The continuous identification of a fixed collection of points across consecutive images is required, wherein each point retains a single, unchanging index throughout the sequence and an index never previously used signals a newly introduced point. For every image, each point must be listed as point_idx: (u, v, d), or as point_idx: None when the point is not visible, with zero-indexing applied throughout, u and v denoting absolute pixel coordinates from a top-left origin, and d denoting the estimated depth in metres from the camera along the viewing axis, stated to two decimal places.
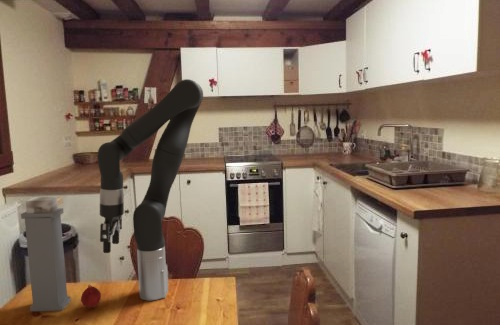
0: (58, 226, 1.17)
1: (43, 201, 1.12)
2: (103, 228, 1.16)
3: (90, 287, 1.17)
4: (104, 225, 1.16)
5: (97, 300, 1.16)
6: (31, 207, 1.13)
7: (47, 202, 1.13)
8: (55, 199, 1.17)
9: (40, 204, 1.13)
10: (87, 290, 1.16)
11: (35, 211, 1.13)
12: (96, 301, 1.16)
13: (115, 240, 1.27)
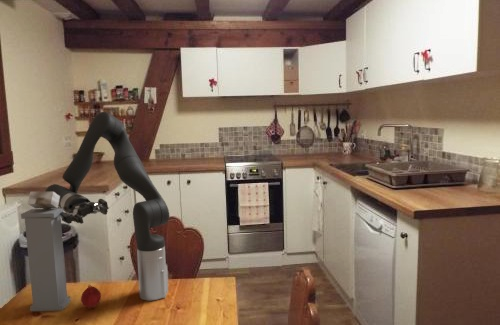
0: (58, 226, 1.17)
1: (47, 192, 1.15)
2: (62, 218, 1.16)
3: (90, 287, 1.17)
4: (61, 216, 1.17)
5: (97, 300, 1.16)
6: (34, 198, 1.14)
7: (51, 193, 1.15)
8: (58, 197, 1.19)
9: (44, 194, 1.14)
10: (87, 290, 1.16)
11: (37, 202, 1.13)
12: (96, 301, 1.16)
13: (102, 211, 1.17)
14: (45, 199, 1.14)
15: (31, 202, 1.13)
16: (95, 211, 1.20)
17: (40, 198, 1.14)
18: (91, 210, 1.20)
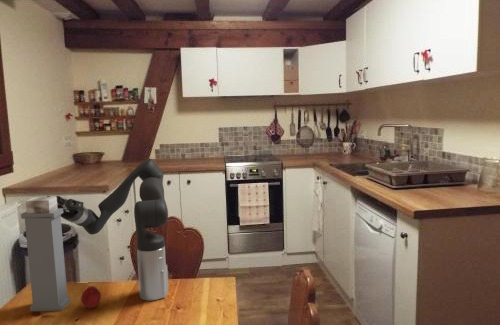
0: (58, 226, 1.17)
1: (43, 201, 1.12)
2: None
3: (90, 287, 1.17)
4: None
5: (97, 300, 1.16)
6: (31, 207, 1.13)
7: (47, 202, 1.13)
8: (55, 199, 1.17)
9: (40, 204, 1.13)
10: (87, 290, 1.16)
11: (35, 211, 1.13)
12: (96, 301, 1.16)
13: None
14: (43, 208, 1.13)
15: (30, 211, 1.13)
16: None
17: (37, 207, 1.13)
18: None
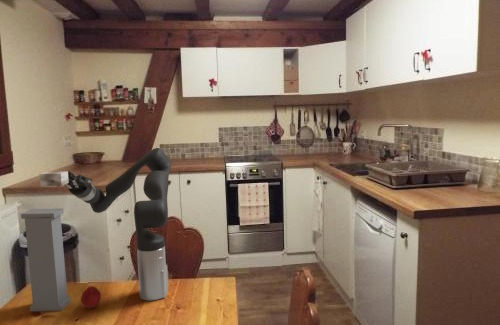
0: (58, 226, 1.17)
1: (55, 174, 1.20)
2: None
3: (90, 287, 1.17)
4: None
5: (97, 300, 1.16)
6: (44, 180, 1.21)
7: (59, 175, 1.21)
8: (66, 173, 1.25)
9: (53, 177, 1.21)
10: (87, 290, 1.16)
11: (48, 184, 1.21)
12: (96, 301, 1.16)
13: None
14: (55, 181, 1.21)
15: (43, 184, 1.21)
16: None
17: (50, 180, 1.21)
18: (73, 181, 1.36)
